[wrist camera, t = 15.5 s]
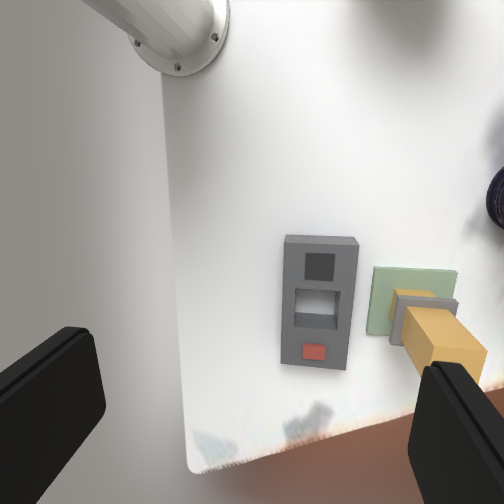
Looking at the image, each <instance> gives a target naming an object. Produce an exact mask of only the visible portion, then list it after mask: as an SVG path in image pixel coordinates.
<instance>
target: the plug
mask: <svg viewBox="0 0 504 504" xmlns="http://www.w3.org/2000/svg"><path fill="white" fill-rule="evenodd" d="M458 304H459V303H458V302H457V301H456V300H455V299H449V298H436V296H435V295H434V294H433V293H432V292H431V291H424V290H410V289H396V288H394V292H393V298H392V304H391V310H390V316H389V319H390V321H391V322H392V325H391V331H390V337H389V342H390V344H391V345H396V346H404V347H405V349H406V350H407V352H408V354H409V356H410V358H411V360H412V362H413V363H414V365H415V367H416V369H417V371H418V373H419V375H420V377H421V378H422V373H423V369H424V367H425V366H431V363H432V362H433V361H445V362H455V363H460V364H462V365H463V366H464V368H465V369H466V370H467V372H468V373H469V374H470V375H471V377H472V378H473V379H474V381H475V382H476V383H477V385H478V382H479V379H480V376H481V372H482V369H483V365H484V362H485V359H486V355H487V352H488V351H487V350H486V349H485V348H484V347H483V346H482V345H481V344H480V343H479V342H478V341H477V340H476V339H475V337H474V336H473V335H472V334H471V333H470V332H469V331H468V330H467V329H466V328H465V327H464V326H463V325H462V324H461V323H460V322H459V321H458V320H457V319H456V317H455V316H456V312H457V308H458Z"/></svg>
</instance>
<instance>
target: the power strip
mask: <svg viewBox="0 0 504 504" xmlns="http://www.w3.org/2000/svg"><path fill="white" fill-rule="evenodd" d="M358 253H359V244H358V243H357V241H356V239H355V238H354V237H338V236H310V235H286V237H285V241H284V266H283V300H282V333H281V364H290V365H300V366H309V367H319V368H329V369H339V370H346V363H347V354H348V345H349V335H350V326H351V317H352V308H353V299H354V290H355V281H356V272H357V262H358ZM296 288H297V289H313V290H328V291H336V300H335V311H334V315H322V314H309V313H296V312H295V293H296Z"/></svg>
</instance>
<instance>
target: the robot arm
mask: <svg viewBox="0 0 504 504" xmlns="http://www.w3.org/2000/svg"><path fill="white" fill-rule="evenodd" d="M81 1H82V2H84V3H85V4H87V5H88V6H89V7H91V8H92V9H94V10H95V11H96V12H98V13H99V14H101V15H102V16H104V17H105V18H107V19H108V20H109V21H111V22H112V23H114V24H115V25H116V26H118V27H119V28H121V29H122V30H123V31H125V32H126V33H127V34H128V37H129V40H130V41H131V44H132V45H133V47H134V49H135V51H136V52H137V53H138V54H139V56H140V57H141V58H142V59H143V60H144V61H145V62H146V63H147V64H148V65H149V66H151V67H152V68H154V69H156V70H157V71H160V72H162V73H164V74H167V75H171V76H187V75H191V74H194V73H196V72H198V71H200V70H202V69H203V68H204V67H206V66H207V65H208V64H209V63H210V62H211V61H212V60H213V59H214V58H215V57H216V55H217V54H218V52H219V50H220V49H221V47H222V45H223V42H224V40H225V37H226V33H227V29H228V24H229V4H228V0H81ZM216 38H218V41H217V42H215V39H216ZM140 44H141V46H140ZM179 67H181V69H180V71H179ZM105 409H106V401H105V395H104V391H103V385H102V380H101V375H100V369H99V364H98V359H97V353H96V348H95V343H94V338H93V336H92V334H90V333H89V331H88V330H87V329H86V328H79V327H64V328H62V329H61V330H60V331H58V332H57V333H55V334H54V335H53V336H51V337H50V338H48V339H47V340H45V341H44V342H43V343H41V344H40V345H38V346H37V347H36V348H34V349H33V350H31V351H30V352H29V353H27V354H26V355H25V356H23V357H22V358H20V359H19V360H17V361H16V362H15V363H14V364H12V365H11V366H9V367H8V368H6V369H5V370H4V371H2V372H1V373H0V504H36V502H37V501H38V500H39V499H40V497H41V496H42V495H43V494H44V492H45V491H46V490H47V488H48V487H49V486H50V485H51V483H52V482H53V481H54V479H55V478H56V477H57V475H58V474H59V473H60V471H61V470H62V469H63V467H64V466H65V465H66V464H67V462H68V461H69V460H70V458H71V457H72V456H73V455H74V453H75V452H76V451H77V449H78V448H79V447H80V446H81V444H82V443H83V442H84V440H85V439H86V438H87V436H88V435H89V434H90V433H91V431H92V430H93V429H94V427H95V426H96V425H97V423H98V422H99V421H100V419H101V418H102V417H103V415H104V412H105ZM408 455H409V460H410V464H411V466H412V469H413V472H414V475H415V478H416V480H417V484H418V486H419V489H420V492H421V495H422V498H423V501H424V503H425V504H504V418H503V417H502V416H501V415H500V413H499V412H498V411H497V409H496V408H495V407H494V405H493V404H492V403H491V401H490V400H489V399H488V398H487V396H486V395H485V394H484V392H483V391H482V390H481V388H480V387H479V386H478V385H477V383H476V382H475V381H474V379H473V378H472V377H471V375H470V374H469V373H468V372H467V370H466V369H465V368H464V366H463V365H462V364H460V363H455V362H445V361H433V362H432V363H431V366H425V367H424V369H423V373H422V378H421V383H420V388H419V393H418V398H417V403H416V408H415V413H414V417H413V422H412V428H411V432H410V437H409V442H408Z"/></svg>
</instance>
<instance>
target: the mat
mask: <svg viewBox="0 0 504 504" xmlns="http://www.w3.org/2000/svg"><path fill="white" fill-rule="evenodd" d="M457 274H458V273H457V272H456V271H454V270H434V269H414V268H394V267H374V271H373V279H372V287H371V295H370V302H369V310H368V318H367V326H366V333H367V334H372V335H384V336H390V331H391V325H392V322H391V321H390V319H389V316H390V310H391V304H392V298H393V292H394V288H396V289H410V290H424V291H431V292H432V293H433V294H434V295H435V296H436V298H449V299H452V297H453V292H454V287H455V283H456V278H457Z"/></svg>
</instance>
